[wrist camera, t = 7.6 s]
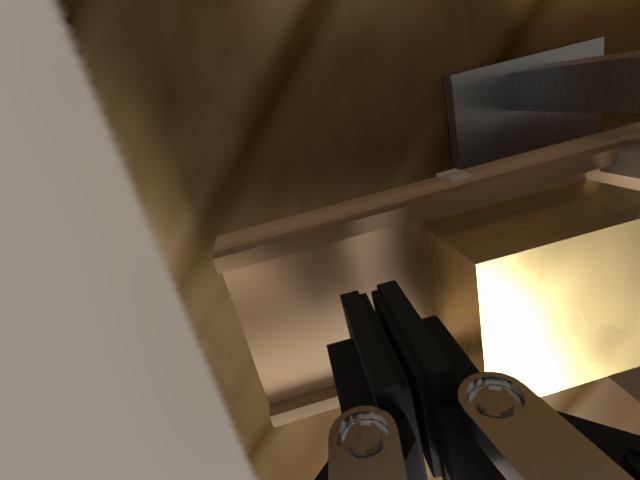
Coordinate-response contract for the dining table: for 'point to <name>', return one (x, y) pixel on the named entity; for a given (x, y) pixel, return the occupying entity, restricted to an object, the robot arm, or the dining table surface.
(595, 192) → the block
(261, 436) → the dining table surface
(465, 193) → the beam
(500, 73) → the stand
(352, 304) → the robot arm
